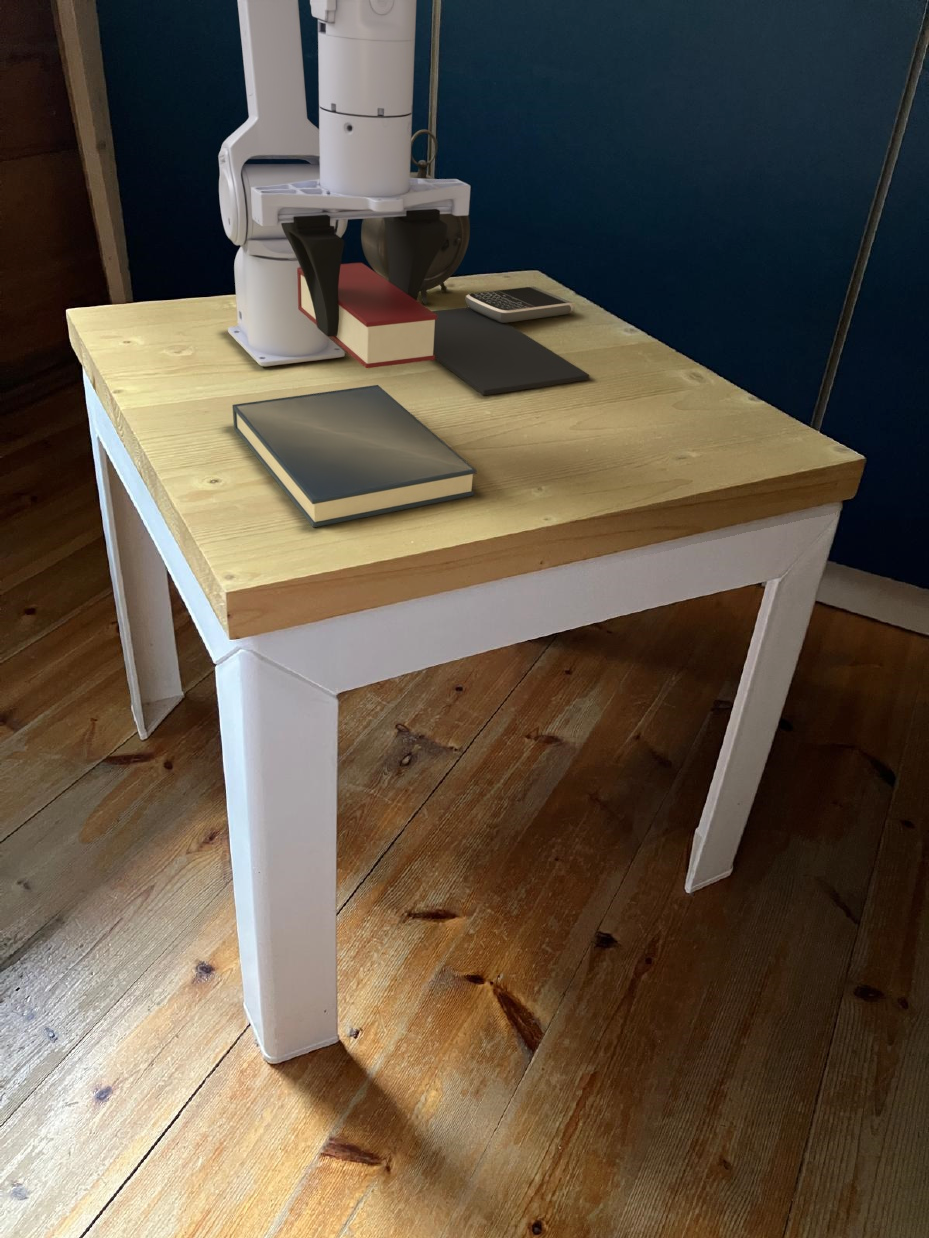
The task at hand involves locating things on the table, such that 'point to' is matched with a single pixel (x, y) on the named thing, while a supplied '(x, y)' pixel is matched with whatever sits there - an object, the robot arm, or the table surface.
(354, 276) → the top book
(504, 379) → the mat
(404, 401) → the table surface
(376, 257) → the alarm clock
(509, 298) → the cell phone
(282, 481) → the bottom book
